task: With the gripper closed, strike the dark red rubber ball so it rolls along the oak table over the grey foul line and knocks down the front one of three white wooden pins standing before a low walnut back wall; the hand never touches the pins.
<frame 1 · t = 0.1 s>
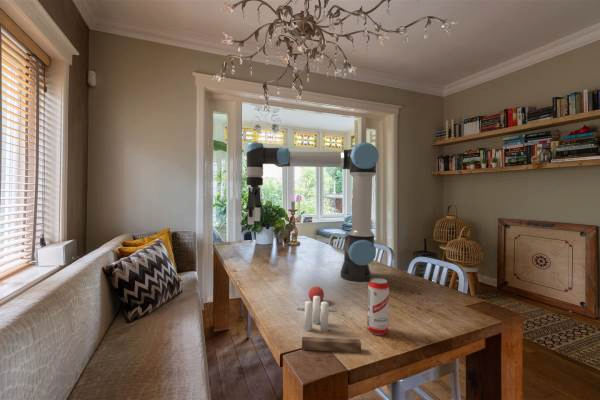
hand: (254, 222, 131), 28 cm above the table, tool pointing down, fingers open, 13 cm apart
foul line: (316, 309, 103), on the table
pin front: (316, 322, 93), on the table
pin back right: (324, 329, 88), on the table
ball: (316, 294, 110), on the table
back wall: (331, 348, 78), on the table
pin back left: (308, 329, 89), on the table
beer can: (377, 331, 88), on the table
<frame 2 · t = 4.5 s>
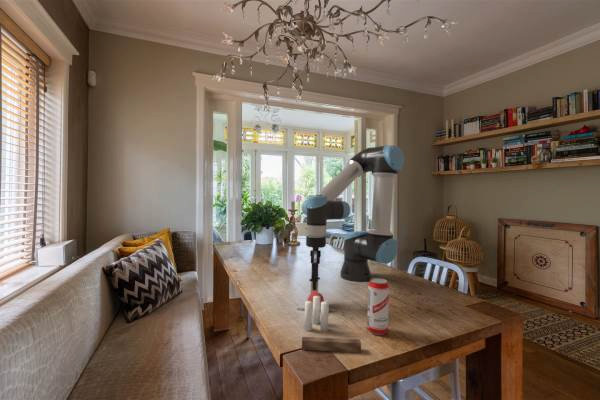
hand: (314, 297, 108), 3 cm above the table, tool pointing down, fingers closed
ball: (315, 300, 104), on the table
everything else where it was.
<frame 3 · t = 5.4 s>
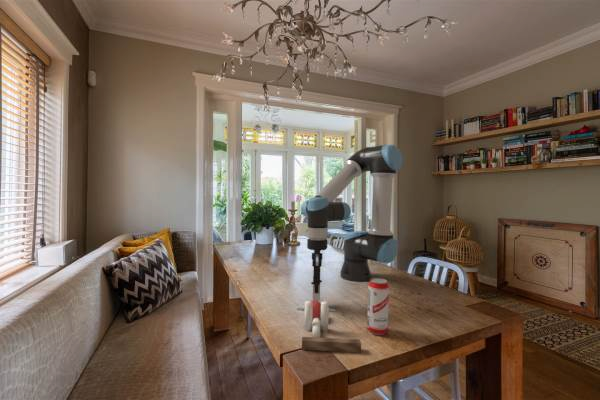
hand: (316, 300, 107), 2 cm above the table, tool pointing down, fingers closed
pin front: (316, 321, 91), point 1 cm above the table, tilted 90°
ball: (314, 309, 96), on the table
everything else where it was.
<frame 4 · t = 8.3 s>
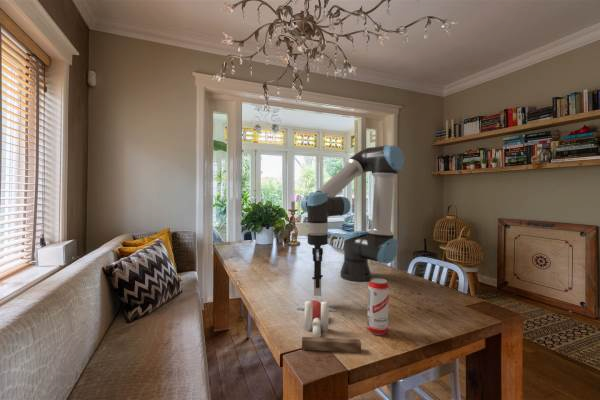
hand: (317, 295, 107), 4 cm above the table, tool pointing down, fingers closed
nothing on the table moved.
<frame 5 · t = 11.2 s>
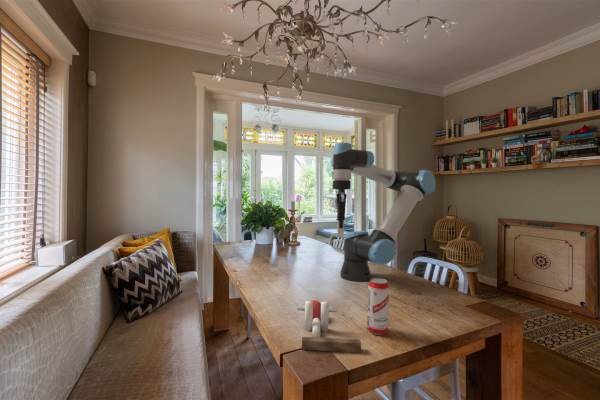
hand: (340, 235, 120), 24 cm above the table, tool pointing down, fingers closed
nothing on the table moved.
at the end: pin front tilted 90°; pin front never touched the robot; ball moved 13.9 cm from its start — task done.
